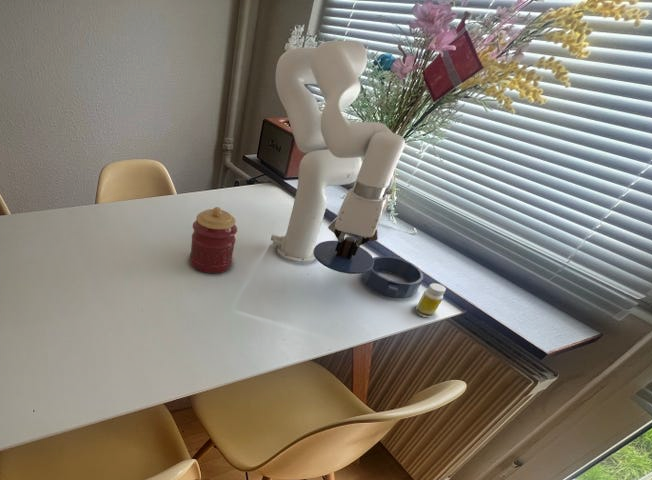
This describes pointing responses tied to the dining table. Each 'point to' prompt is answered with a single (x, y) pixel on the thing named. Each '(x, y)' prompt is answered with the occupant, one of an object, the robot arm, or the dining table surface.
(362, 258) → the pot lid
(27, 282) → the dining table surface
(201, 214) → the kitchen canister
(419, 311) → the supplement bottle
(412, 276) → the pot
